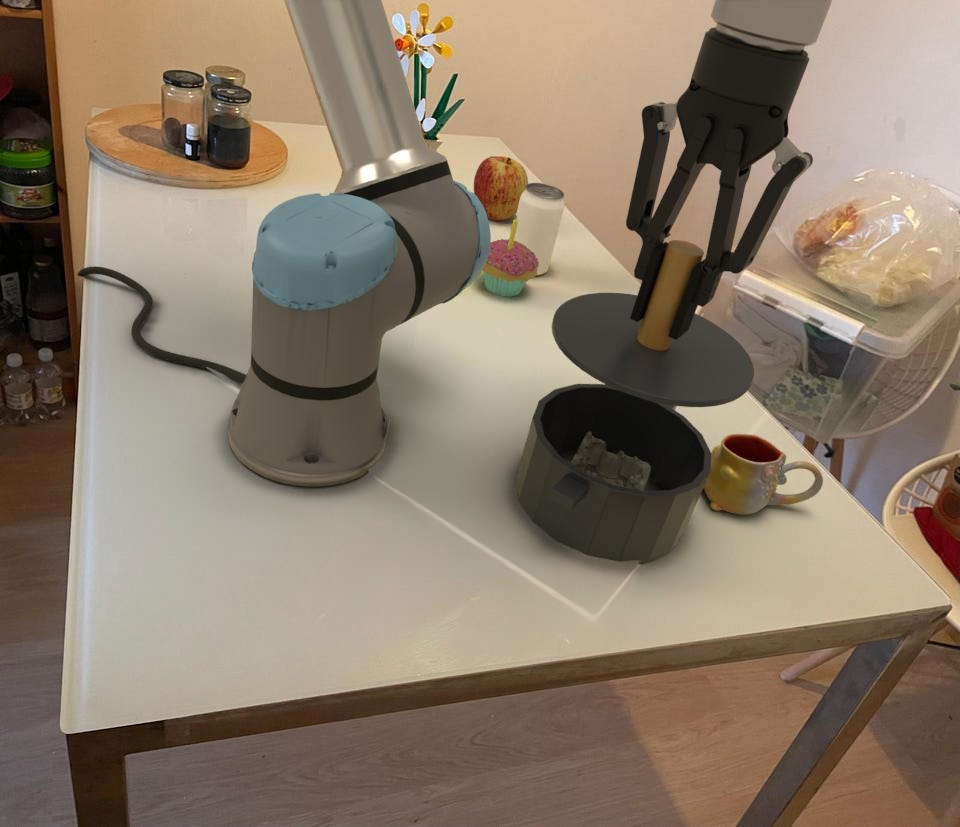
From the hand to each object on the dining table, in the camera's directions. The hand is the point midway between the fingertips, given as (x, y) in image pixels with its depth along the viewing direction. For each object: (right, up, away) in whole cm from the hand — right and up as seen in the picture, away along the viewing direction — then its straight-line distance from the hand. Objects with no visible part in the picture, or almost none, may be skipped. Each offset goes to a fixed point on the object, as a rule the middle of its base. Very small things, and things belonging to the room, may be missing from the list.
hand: (659, 323), depth 73 cm
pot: (-4, -17, +11) cm, 20 cm away
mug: (+13, -17, +16) cm, 27 cm away
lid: (0, -2, +1) cm, 2 cm away
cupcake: (-13, +9, +45) cm, 48 cm away
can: (-9, +14, +53) cm, 56 cm away
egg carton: (-4, -16, +11) cm, 20 cm away
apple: (-13, +25, +68) cm, 73 cm away
